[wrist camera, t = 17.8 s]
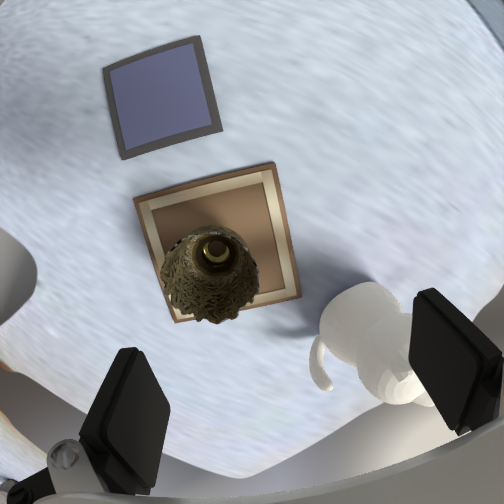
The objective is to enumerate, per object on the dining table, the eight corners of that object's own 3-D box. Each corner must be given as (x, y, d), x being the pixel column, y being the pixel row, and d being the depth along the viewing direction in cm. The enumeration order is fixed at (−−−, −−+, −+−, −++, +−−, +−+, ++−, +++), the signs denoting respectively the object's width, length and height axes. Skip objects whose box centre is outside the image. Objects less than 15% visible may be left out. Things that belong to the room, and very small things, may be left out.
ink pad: (106, 70, 25) (101, 67, 23) (201, 38, 24) (199, 33, 23) (124, 159, 28) (120, 160, 27) (223, 131, 27) (222, 130, 26)
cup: (214, 296, 32) (207, 340, 24) (164, 245, 30) (140, 277, 22) (270, 251, 31) (280, 286, 23) (220, 194, 29) (212, 211, 21)
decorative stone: (34, 491, 55) (9, 474, 52) (29, 506, 48) (3, 489, 45) (25, 494, 58) (2, 478, 55) (20, 507, 51) (-4, 491, 48)
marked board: (135, 198, 29) (132, 199, 28) (274, 162, 28) (275, 163, 28) (175, 320, 33) (174, 324, 33) (301, 295, 33) (302, 298, 32)
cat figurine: (406, 306, 34) (473, 383, 20) (324, 366, 36) (356, 462, 22) (373, 252, 32) (451, 323, 17) (281, 322, 34) (304, 425, 20)
